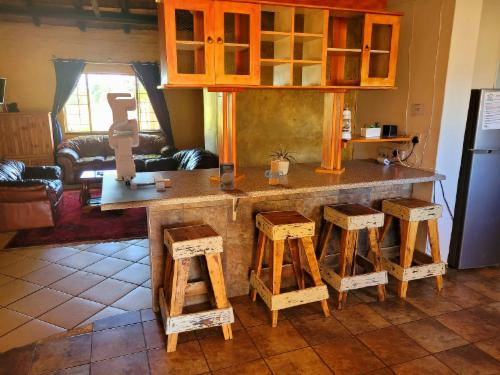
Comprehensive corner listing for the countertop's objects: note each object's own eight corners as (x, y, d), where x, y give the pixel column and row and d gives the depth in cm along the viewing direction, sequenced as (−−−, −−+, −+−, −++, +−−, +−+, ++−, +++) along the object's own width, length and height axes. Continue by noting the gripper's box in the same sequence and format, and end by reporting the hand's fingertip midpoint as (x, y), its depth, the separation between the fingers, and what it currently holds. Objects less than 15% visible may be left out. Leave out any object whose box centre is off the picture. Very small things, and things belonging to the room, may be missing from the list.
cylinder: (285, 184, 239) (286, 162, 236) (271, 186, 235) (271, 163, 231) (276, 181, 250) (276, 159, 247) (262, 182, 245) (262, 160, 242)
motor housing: (153, 183, 244) (153, 174, 243) (161, 183, 246) (160, 174, 244) (156, 190, 226) (155, 180, 224) (164, 189, 227) (164, 180, 226)
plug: (131, 188, 232) (130, 182, 231) (169, 184, 240) (168, 178, 240) (131, 189, 228) (131, 183, 227) (170, 186, 237) (170, 180, 236)
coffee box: (219, 190, 226) (218, 164, 222) (220, 187, 232) (219, 162, 228) (234, 190, 226) (234, 164, 222) (234, 187, 232) (234, 162, 229)
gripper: (138, 156, 231) (140, 185, 235) (112, 157, 226) (115, 186, 230) (138, 158, 224) (140, 187, 228) (112, 159, 219) (115, 189, 223)
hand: (128, 187), depth 229 cm, fingers closed
